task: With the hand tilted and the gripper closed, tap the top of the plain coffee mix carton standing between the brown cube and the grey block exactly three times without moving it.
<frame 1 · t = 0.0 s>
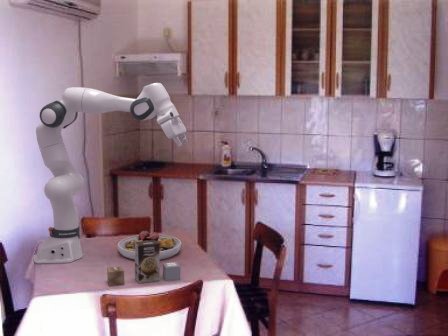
hand: (183, 144, 252), 54 cm above the table, tool tilted 30°, fingers open, 8 cm apart
grey block: (171, 278, 244), on the table
bowl: (149, 253, 279), on the table
coffee box: (147, 280, 242), on the table
brown cube: (115, 283, 238), on the table
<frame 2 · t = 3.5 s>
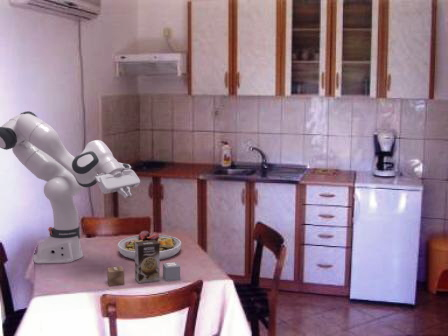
hand: (128, 197, 245), 33 cm above the table, tool tilted 45°, fingers closed
nothing on the table moved.
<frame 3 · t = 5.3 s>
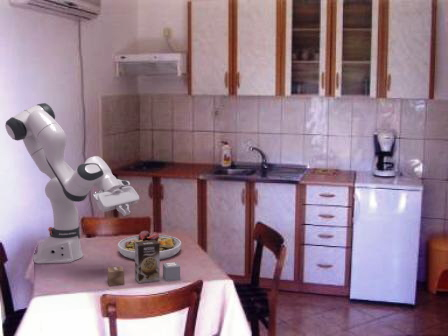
hand: (127, 214, 242), 27 cm above the table, tool tilted 45°, fingers closed
nothing on the table moved.
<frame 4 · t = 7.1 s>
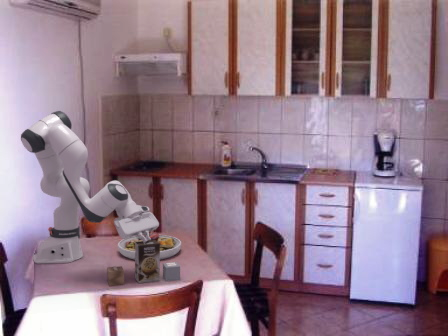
hand: (147, 241, 238), 17 cm above the table, tool tilted 45°, fingers closed, pressing on coffee box
coffee box: (147, 280, 242), on the table, touching gripper
everything else where it was.
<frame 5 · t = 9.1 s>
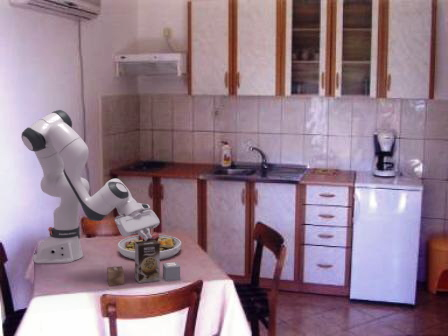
hand: (148, 239, 239), 17 cm above the table, tool tilted 45°, fingers closed
coffee box: (147, 280, 242), on the table
everything else where it was.
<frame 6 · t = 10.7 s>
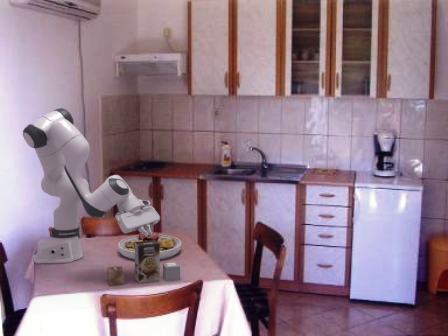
hand: (149, 235, 239), 19 cm above the table, tool tilted 45°, fingers closed
nothing on the table moved.
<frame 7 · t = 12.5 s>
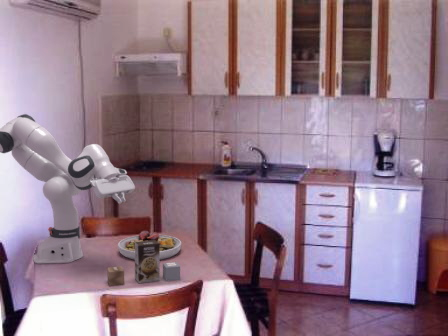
hand: (122, 202, 246), 31 cm above the table, tool tilted 40°, fingers closed
nothing on the table moved.
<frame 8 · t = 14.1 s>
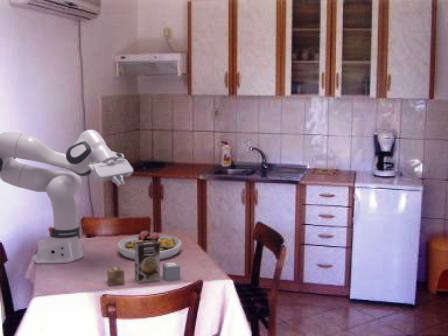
hand: (121, 185, 249), 37 cm above the table, tool tilted 45°, fingers closed
nothing on the table moved.
at the end: coffee box moved 0.2 cm from its start; coffee box tilted 0°; grey block moved 0.1 cm from its start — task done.
